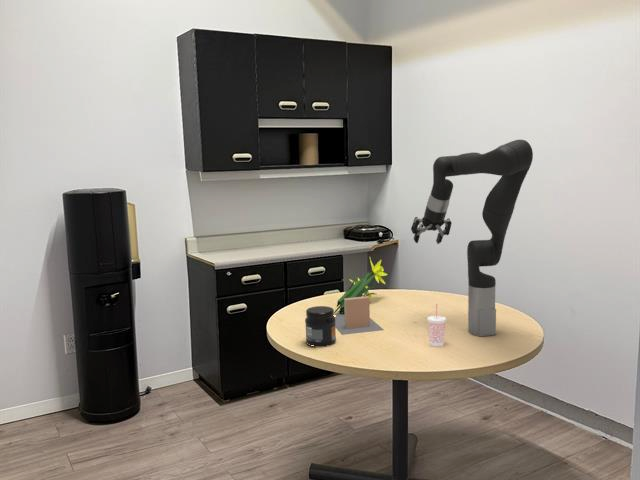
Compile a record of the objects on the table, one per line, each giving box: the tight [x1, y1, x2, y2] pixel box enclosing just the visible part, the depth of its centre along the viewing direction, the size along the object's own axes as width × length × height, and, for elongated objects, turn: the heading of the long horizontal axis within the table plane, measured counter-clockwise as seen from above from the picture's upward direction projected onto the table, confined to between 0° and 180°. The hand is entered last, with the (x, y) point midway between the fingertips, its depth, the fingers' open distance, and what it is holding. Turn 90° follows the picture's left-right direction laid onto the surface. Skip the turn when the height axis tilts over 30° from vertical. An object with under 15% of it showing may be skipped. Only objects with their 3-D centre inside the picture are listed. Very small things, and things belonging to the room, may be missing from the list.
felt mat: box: [334, 312, 385, 336], centre depth 227 cm, size 26×16×1 cm, turn 14°
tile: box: [343, 296, 371, 329], centre depth 220 cm, size 2×9×11 cm, turn 104°
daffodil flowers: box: [334, 257, 388, 314], centre depth 251 cm, size 17×15×35 cm
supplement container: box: [304, 305, 337, 347], centre depth 205 cm, size 10×10×12 cm
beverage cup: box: [427, 303, 447, 347], centre depth 199 cm, size 6×6×14 cm
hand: (426, 242), depth 223 cm, fingers open, 8 cm apart
